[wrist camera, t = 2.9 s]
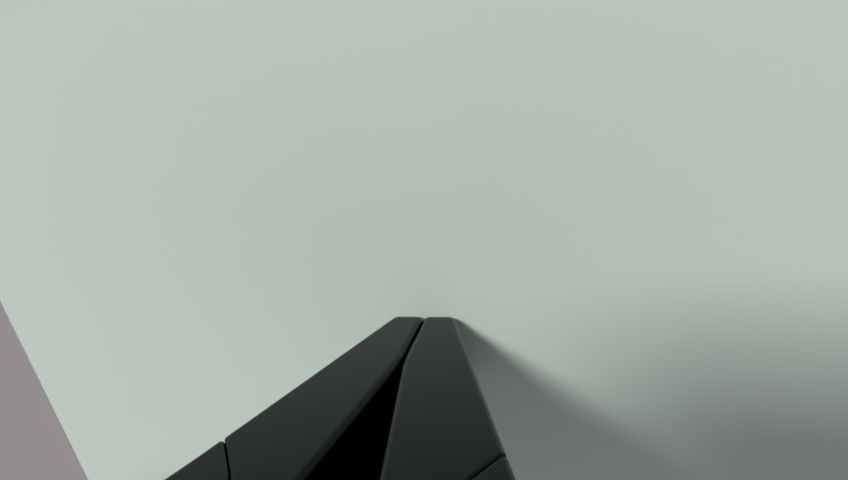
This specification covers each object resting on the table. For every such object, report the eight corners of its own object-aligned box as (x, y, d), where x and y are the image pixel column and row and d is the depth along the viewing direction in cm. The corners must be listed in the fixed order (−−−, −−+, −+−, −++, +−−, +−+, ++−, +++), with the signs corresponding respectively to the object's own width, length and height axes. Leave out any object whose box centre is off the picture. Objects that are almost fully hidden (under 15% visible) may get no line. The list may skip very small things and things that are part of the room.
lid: (1221, -325, 5) (1324, -362, 4) (850, 705, 12) (869, 753, 11) (-133, -100, 8) (-197, -101, 8) (191, 620, 15) (174, 654, 14)
